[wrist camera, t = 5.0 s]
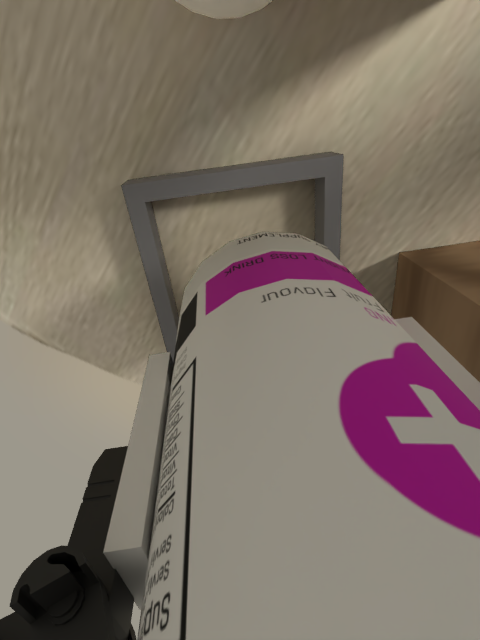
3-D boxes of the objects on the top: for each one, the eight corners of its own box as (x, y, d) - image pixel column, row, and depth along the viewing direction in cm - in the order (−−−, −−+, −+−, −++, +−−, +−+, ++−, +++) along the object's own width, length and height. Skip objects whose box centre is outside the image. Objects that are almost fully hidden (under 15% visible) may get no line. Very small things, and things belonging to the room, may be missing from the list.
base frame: (331, 151, 20) (343, 154, 18) (327, 324, 26) (336, 338, 25) (127, 179, 20) (121, 185, 18) (172, 347, 26) (170, 364, 24)
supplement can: (268, 184, 14) (1168, 1135, 1) (380, 305, 17) (905, 867, 4) (145, 315, 16) (-77, 1056, 3) (263, 398, 20) (374, 927, 7)
